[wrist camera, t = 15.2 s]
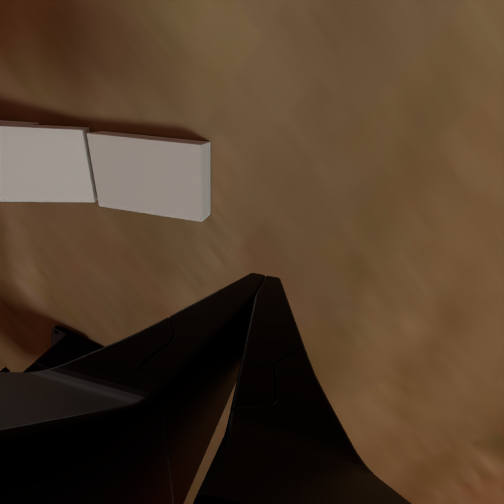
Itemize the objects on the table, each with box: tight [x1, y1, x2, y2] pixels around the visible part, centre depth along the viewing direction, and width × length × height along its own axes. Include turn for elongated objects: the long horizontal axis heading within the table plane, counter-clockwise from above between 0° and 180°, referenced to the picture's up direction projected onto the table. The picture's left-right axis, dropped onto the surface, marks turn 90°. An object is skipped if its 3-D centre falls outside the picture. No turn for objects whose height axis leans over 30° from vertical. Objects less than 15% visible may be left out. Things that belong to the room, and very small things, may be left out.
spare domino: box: [87, 131, 210, 222], centre depth 22 cm, size 2×5×8 cm
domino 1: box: [0, 123, 98, 202], centre depth 22 cm, size 2×5×8 cm
